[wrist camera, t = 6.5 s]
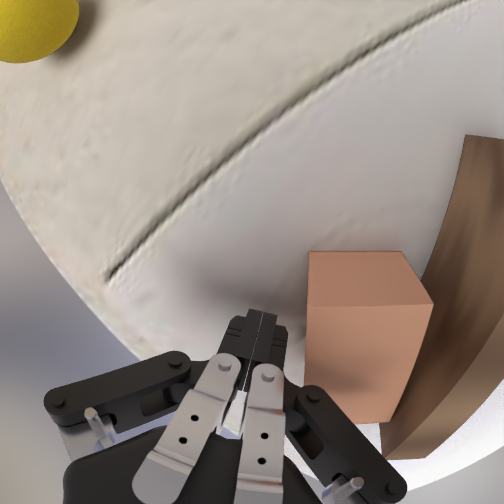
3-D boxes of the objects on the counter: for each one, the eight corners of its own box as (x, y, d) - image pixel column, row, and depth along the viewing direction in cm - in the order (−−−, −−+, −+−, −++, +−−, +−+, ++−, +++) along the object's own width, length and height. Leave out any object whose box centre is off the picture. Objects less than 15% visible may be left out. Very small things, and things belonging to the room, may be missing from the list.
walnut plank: (465, 134, 10) (557, 150, 4) (503, 155, 10) (590, 183, 4) (372, 373, 17) (382, 460, 11) (407, 377, 17) (424, 458, 11)
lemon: (44, 30, 11) (-39, 24, 4) (96, -19, 10) (12, -47, 2) (54, 80, 13) (-42, 86, 6) (110, 30, 11) (7, 6, 4)
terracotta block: (309, 251, 15) (306, 306, 10) (401, 251, 14) (433, 303, 9) (306, 362, 18) (300, 424, 13) (379, 361, 17) (389, 421, 12)
